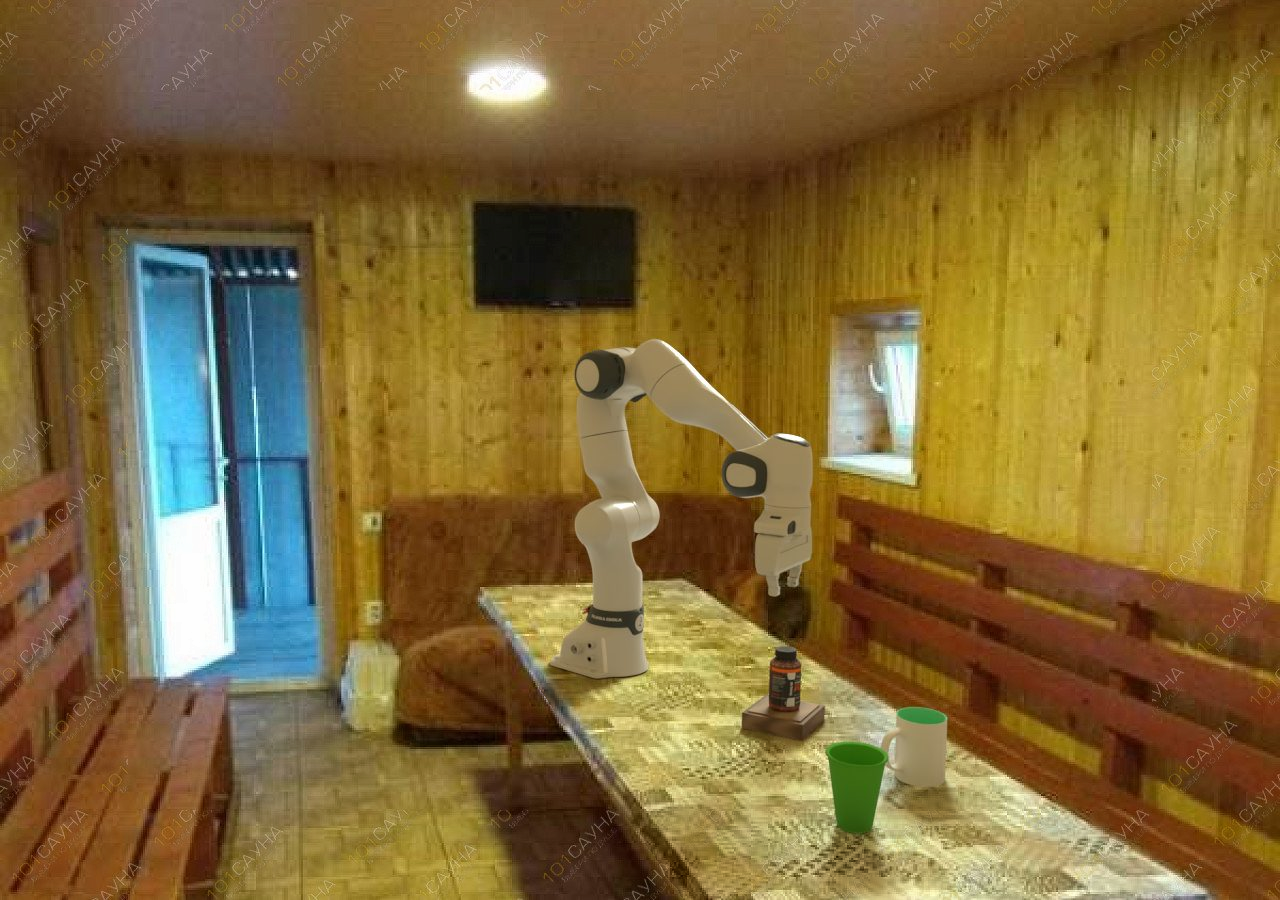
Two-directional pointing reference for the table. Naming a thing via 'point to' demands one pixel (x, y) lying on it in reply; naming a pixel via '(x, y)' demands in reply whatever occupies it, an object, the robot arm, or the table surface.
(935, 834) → the table surface
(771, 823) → the table surface
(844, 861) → the table surface
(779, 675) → the supplement bottle
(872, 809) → the cup
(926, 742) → the mug
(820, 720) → the brown box
